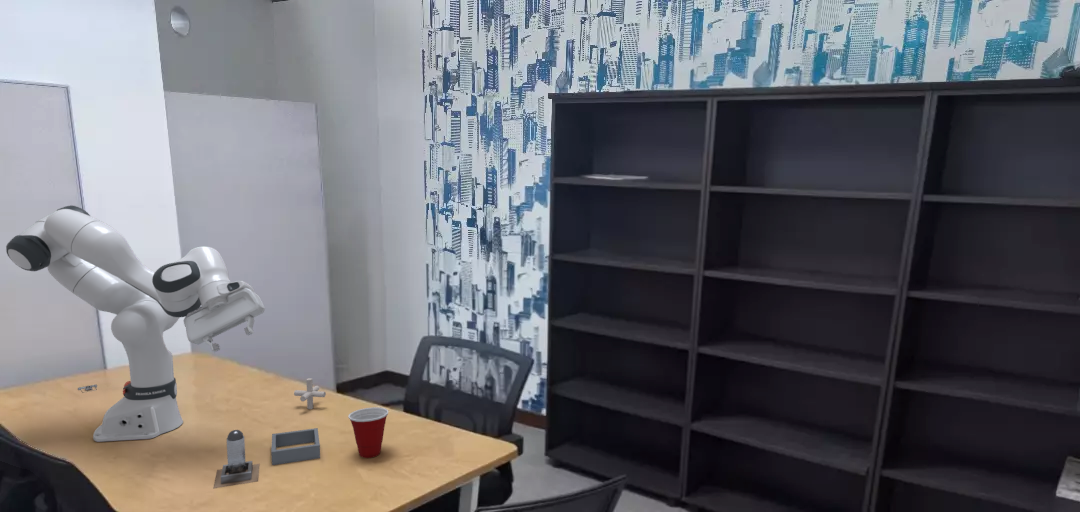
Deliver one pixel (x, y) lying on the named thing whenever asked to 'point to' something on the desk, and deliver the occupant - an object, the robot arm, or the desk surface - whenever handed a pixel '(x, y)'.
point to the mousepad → (87, 388)
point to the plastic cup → (369, 430)
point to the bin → (295, 452)
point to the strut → (236, 452)
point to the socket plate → (237, 476)
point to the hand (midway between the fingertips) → (233, 342)
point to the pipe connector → (309, 393)
